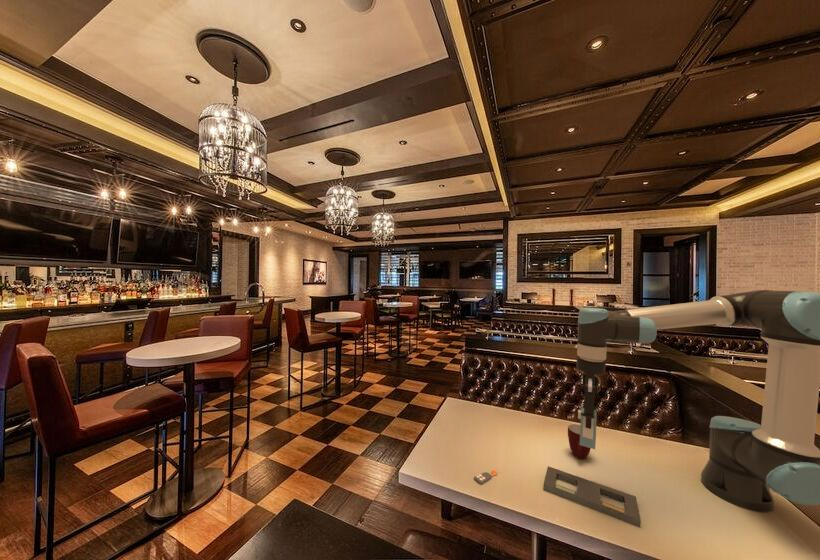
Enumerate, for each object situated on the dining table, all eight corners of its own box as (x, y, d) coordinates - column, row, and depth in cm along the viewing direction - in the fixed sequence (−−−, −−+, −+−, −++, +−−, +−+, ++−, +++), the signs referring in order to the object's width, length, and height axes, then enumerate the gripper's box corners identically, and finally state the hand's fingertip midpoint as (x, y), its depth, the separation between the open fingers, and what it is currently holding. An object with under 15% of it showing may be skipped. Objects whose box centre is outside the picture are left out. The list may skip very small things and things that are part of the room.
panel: (635, 503, 85) (636, 495, 85) (640, 527, 77) (640, 519, 76) (547, 471, 98) (547, 465, 98) (543, 489, 90) (543, 482, 90)
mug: (595, 469, 100) (596, 441, 99) (569, 463, 103) (570, 435, 103) (589, 452, 109) (590, 427, 109) (566, 447, 112) (566, 422, 112)
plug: (595, 443, 88) (596, 411, 88) (595, 449, 84) (596, 416, 84) (577, 437, 90) (578, 406, 90) (576, 443, 87) (578, 411, 87)
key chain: (481, 487, 91) (481, 482, 91) (472, 480, 94) (472, 475, 94) (507, 473, 98) (507, 468, 98) (499, 466, 101) (499, 462, 101)
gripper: (577, 350, 96) (574, 418, 96) (575, 362, 82) (572, 443, 82) (604, 354, 92) (601, 425, 92) (607, 368, 78) (603, 452, 78)
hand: (587, 433), depth 87 cm, fingers closed on plug, 4 cm apart
